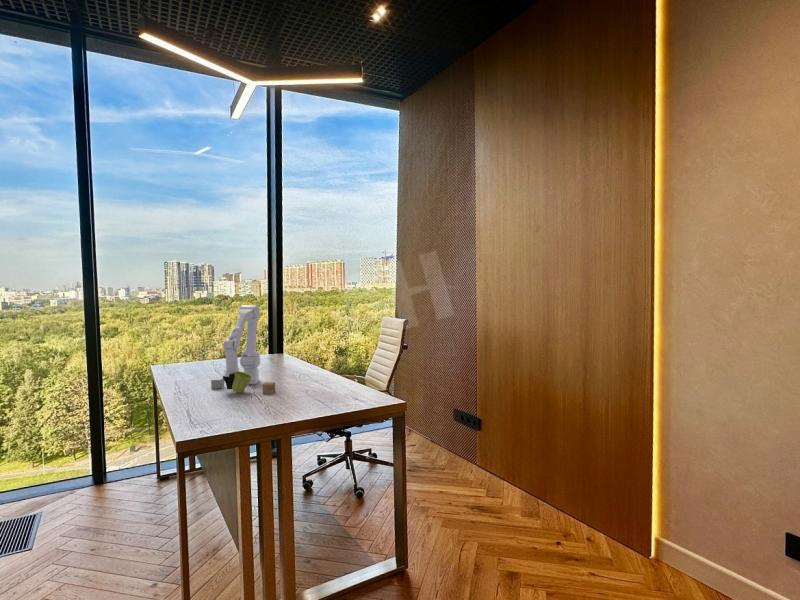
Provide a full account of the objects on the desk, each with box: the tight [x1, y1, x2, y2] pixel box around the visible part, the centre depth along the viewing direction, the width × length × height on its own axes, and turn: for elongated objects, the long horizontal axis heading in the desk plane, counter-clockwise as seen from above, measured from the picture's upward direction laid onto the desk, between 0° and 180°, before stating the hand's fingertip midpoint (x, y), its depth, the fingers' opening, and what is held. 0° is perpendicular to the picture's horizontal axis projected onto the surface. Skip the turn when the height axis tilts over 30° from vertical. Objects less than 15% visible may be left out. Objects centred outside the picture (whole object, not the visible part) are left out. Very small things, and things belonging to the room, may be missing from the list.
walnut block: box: [262, 381, 276, 394], centre depth 235 cm, size 5×5×5 cm
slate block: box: [210, 377, 225, 390], centre depth 246 cm, size 5×5×5 cm
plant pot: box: [231, 370, 252, 394], centre depth 235 cm, size 9×9×9 cm
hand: (232, 387), depth 238 cm, fingers open, 7 cm apart
